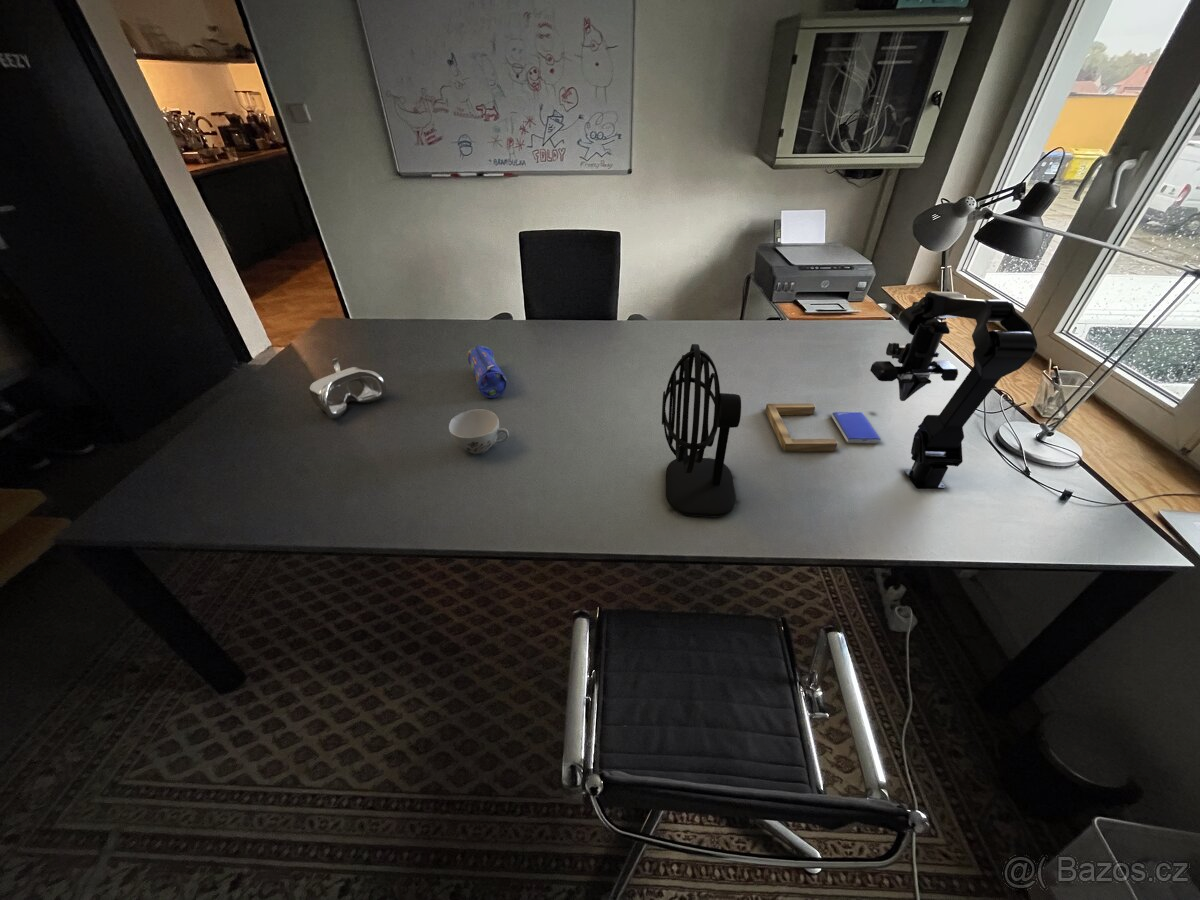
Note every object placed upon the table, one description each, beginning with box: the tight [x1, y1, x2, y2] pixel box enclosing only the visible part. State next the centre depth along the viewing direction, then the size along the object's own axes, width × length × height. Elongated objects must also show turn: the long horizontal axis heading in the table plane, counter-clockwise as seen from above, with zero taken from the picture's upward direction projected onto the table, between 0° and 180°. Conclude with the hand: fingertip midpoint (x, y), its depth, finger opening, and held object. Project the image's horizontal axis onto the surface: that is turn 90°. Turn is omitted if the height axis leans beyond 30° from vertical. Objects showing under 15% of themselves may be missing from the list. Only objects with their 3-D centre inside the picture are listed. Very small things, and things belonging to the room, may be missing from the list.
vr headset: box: [309, 357, 387, 419], centre depth 145 cm, size 18×11×14 cm, turn 139°
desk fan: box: [661, 343, 742, 518], centre depth 107 cm, size 27×18×35 cm, turn 174°
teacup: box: [448, 408, 510, 455], centre depth 129 cm, size 15×12×8 cm
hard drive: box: [831, 411, 881, 444], centre depth 135 cm, size 2×8×12 cm
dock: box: [764, 402, 839, 453], centre depth 135 cm, size 19×13×2 cm
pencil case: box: [466, 345, 508, 399], centre depth 156 cm, size 22×9×10 cm, turn 22°
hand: (901, 400), depth 129 cm, fingers closed
